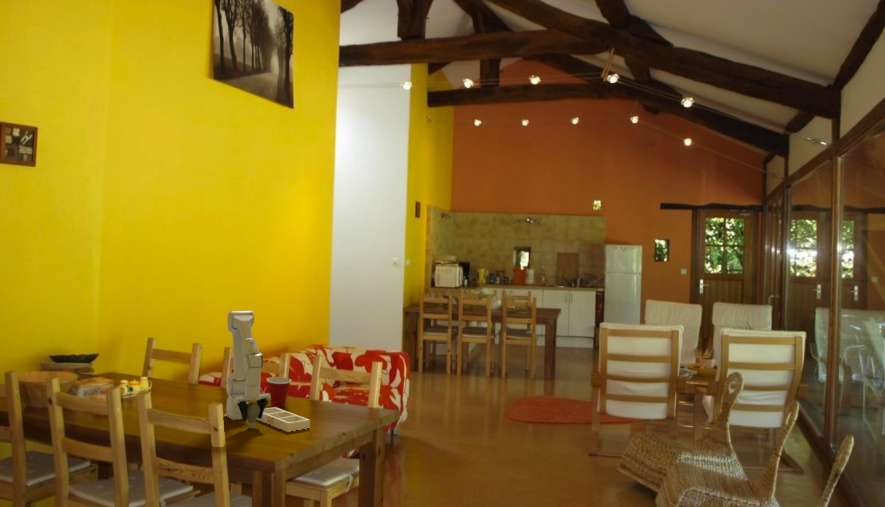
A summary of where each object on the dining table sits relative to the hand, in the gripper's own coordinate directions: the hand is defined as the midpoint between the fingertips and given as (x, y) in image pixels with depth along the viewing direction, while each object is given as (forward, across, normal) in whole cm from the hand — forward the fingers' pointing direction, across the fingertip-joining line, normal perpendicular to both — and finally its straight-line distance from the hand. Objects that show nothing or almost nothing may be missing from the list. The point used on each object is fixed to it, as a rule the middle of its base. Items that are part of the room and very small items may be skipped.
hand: (252, 419), depth 286 cm
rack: (+3, +13, 0) cm, 13 cm away
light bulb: (+4, 0, 0) cm, 4 cm away
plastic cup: (+4, +28, +29) cm, 40 cm away
